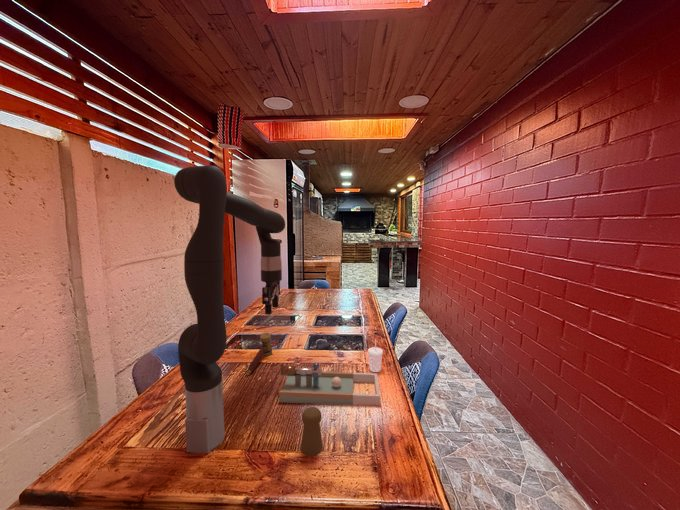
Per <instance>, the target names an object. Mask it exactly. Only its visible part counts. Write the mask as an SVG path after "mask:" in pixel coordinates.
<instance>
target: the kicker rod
mask: <svg viewBox="0 0 680 510" xmlns="http://www.w3.org/2000/svg"><path fill="white" fill-rule="evenodd" d="M312 367H313V368H312ZM312 367H297V365H281V368H280V376H283V377H284V376H287V377H288V376H295V374H302V375H313V387H318V384H319V375H322V371H323V368H320V364H319V363H318V362H314V363H313V364H312Z"/></svg>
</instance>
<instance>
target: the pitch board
mask: <svg viewBox="0 0 680 510" xmlns="http://www.w3.org/2000/svg"><path fill="white" fill-rule="evenodd" d="M334 377H339V378H340V379H341V385H340V386H339V387H334V386H333V385H332V379H333V378H334ZM354 383H366V384H367V383H369V384H370V383H371V384H372V383H373V384H374V392H375V394H374V393H354ZM379 385H380V384H379V380H378V373H376V372H374V373H373V372H372V373H371V372H370V373H369V372H345V371H344V372H343V371H323V370H322V375H319V384H318V387H313V375H302V374H295V376H287V377H286V381H285V383H284V385H283V387H282V389H281V390H279V393H278V395H279V396H278V398H279V399H278V400H279V401H278V402H279V403H288V404H289V403H290V404H316V405H317V404H318V405H319V404H321V405H323V404H324V405H326V404H327V405H351V406H352V405H355V406H357V405H358V406H360V405H361V406H381V393H380V392H381V391H380V386H379Z"/></svg>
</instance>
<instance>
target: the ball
mask: <svg viewBox="0 0 680 510" xmlns="http://www.w3.org/2000/svg"><path fill="white" fill-rule="evenodd" d="M332 385H333V386H334V387H339V386H340V385H341V379H340V378H339V377H334V378H333V379H332Z"/></svg>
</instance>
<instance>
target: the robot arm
mask: <svg viewBox="0 0 680 510" xmlns="http://www.w3.org/2000/svg"><path fill="white" fill-rule="evenodd" d="M173 182H174V183H173V184H174V185H173V186H174V188H175V190H176V192H177V193H178V195H179V196H180V197H181V198H182V199H184V200H186V201H187V202H190V203H194V204H198V205H199V209H198V211H199V212H198V222H197V225H196V227H195V229H194V232H193V233H192V236H191V237H190V239H189V241H188V243H187V245H186V249H185V251H184V259H183V267H184V270H183V271H184V275H183V276H184V280H185V285H186V289H187V291H188V293H189V295H190V298H191V300H192V302H193V305H194V308H195V312H196V319H197V321H196V323H193V324H191V325H189V326H187V327H186V328H185V329H184V330H183V331H182V333H181V335H180V336H179V339H178V343H177V351H178V352H177V353H178V362H179V363H178V364H179V371H180V372H179V373H180V377H181V378H182V380H183V383H184V392H185V393H184V394H185V395H184V396H185V411H186V412H185V413H186V416H185V417H186V418H185V419H184V427H185V428H184V429H185V443H186V453H189V452H190V454H192V453H194V454H207V453H208V454H210V453H211V452H212V450H214V449H215V448H217V447H218V446H220V445H221V443H222V442H223V440H224V439H225V434H226V433H225V417H224V416H225V415H224V413H225V412H224V410H225V409H224V394H223V393H224V392H223V390H224V389H223V388H224V387H223V371H222V368H221V367H220V366H219V364H217V363H218V361H220V359H221V358H222V357H223V355H224V354H225V350H226V347H227V341H228V340H227V339H228V338H227V336H228V335H227V328H226V320H225V308H224V230H225V229H224V226H225V216H226V215H225V214H228V215H231V216H232V217H234V218H236V219H238V220H241V221H243V222H244V223H247V224H249V225H250V226H253V227H255V230H256V234H257V237H258V240H259V244H260V282H263V283H265V286H264V287H262V288H261V289H262V290H261V291H262V293H261V300H262V302H261V303H262V305H264V313H265V315H272V313H273V310H272V309H273V308H278V307H279V297H280V296H281V281H282V279H283V277H282V275H283V274H282V272H283V271H282V268H283V267H282V264H283V263H282V257H281V253H282V252H281V251H282V249H281V248H282V247H281V245H282V244H281V242H280V241H279V240H277V239H274V238H273V237H272V235H271V234H280V233H282V232H283V231H284V230H285V228H286V221H285V218H284V217H283V216H282V214H280V213H279V212H277V211H273V210H271V209H268V208H264V207H263V206H261V205H260V204H258V203H256V202H255V201H253V200H251V199H249V198H246V197H244V196H241V195H237V194H234V193H231V192H228V184H227V179H226V176H225V174H224V172H223V171H222V170H221V169H220V168H219V167H218V166H216V165H209V164H208V165H196V166H188V167H184V168H180V169H179V170H178V171H177V173H176V174H175V176H174V181H173Z"/></svg>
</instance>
